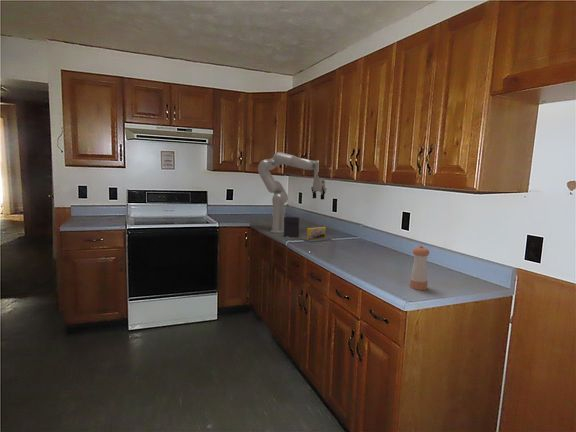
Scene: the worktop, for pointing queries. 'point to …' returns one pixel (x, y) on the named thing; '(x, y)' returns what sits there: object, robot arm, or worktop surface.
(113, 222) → the worktop surface
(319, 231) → the candy box
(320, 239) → the mat
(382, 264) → the worktop surface
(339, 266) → the worktop surface
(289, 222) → the calculator
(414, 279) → the pepper shaker
